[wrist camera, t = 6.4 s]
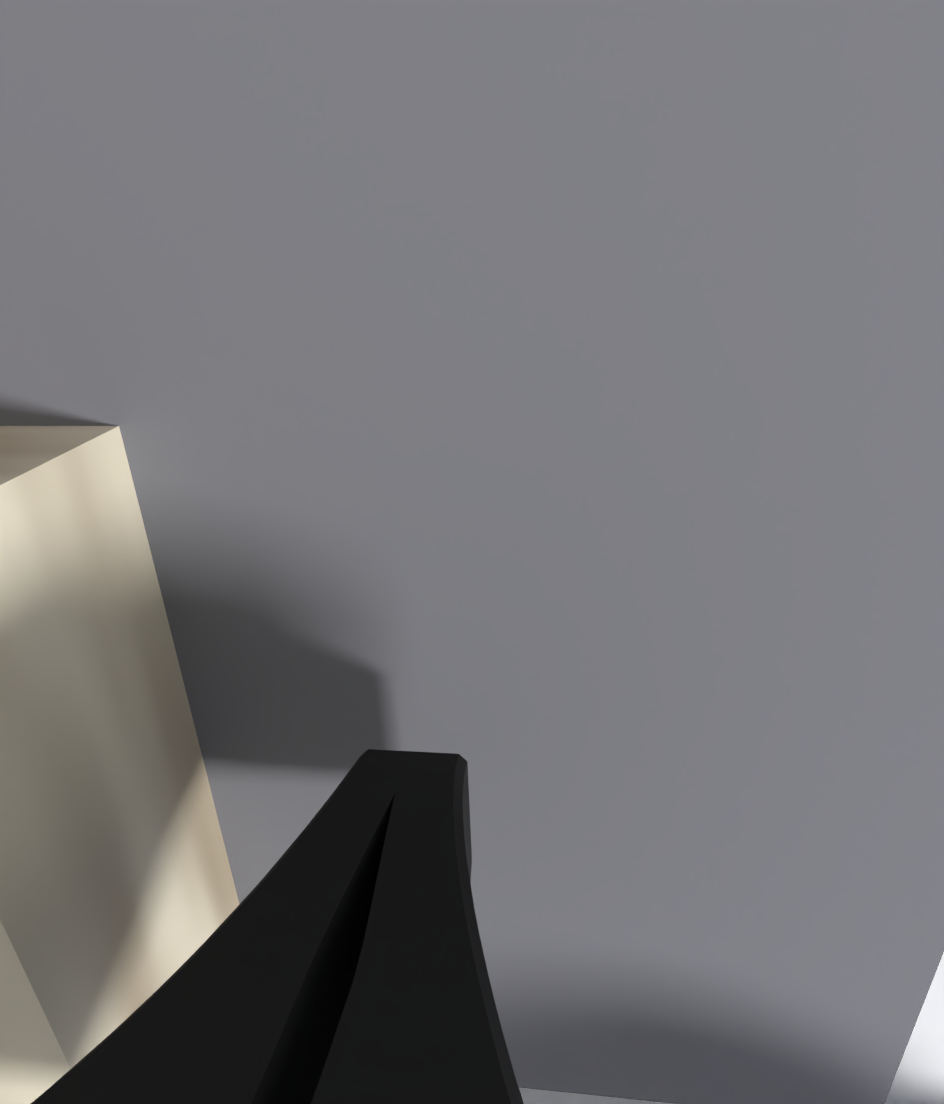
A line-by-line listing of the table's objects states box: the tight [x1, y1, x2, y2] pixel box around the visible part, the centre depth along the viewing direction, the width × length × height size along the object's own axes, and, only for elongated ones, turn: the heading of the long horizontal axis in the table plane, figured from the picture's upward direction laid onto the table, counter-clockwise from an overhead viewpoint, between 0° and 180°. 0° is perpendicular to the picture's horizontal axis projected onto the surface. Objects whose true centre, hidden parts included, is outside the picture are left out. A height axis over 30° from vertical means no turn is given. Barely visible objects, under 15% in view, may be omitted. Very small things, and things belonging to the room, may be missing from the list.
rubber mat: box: [0, 0, 944, 1104], centre depth 11 cm, size 25×20×1 cm
